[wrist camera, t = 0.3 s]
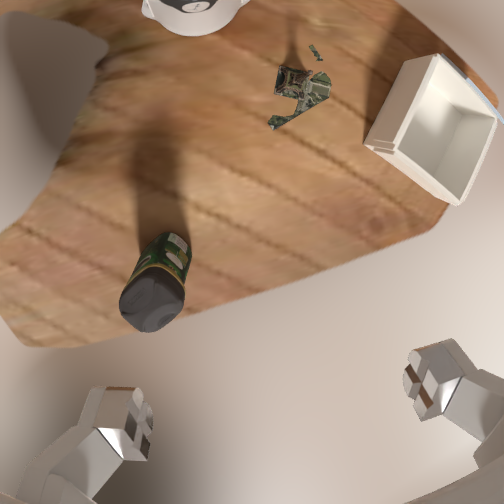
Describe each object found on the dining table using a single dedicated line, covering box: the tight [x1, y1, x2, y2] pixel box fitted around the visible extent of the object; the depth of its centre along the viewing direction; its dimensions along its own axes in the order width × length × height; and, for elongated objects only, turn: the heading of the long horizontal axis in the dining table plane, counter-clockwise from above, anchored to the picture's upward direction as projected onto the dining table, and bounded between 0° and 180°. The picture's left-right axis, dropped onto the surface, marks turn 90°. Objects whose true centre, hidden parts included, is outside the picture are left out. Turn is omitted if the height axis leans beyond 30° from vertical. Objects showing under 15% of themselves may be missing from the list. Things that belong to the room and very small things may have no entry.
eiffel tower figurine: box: [268, 45, 331, 131], centre depth 42 cm, size 15×10×13 cm
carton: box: [363, 53, 498, 206], centre depth 47 cm, size 21×19×11 cm
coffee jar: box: [119, 232, 192, 333], centre depth 48 cm, size 10×8×19 cm
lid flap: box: [441, 53, 504, 124], centre depth 35 cm, size 11×17×1 cm
